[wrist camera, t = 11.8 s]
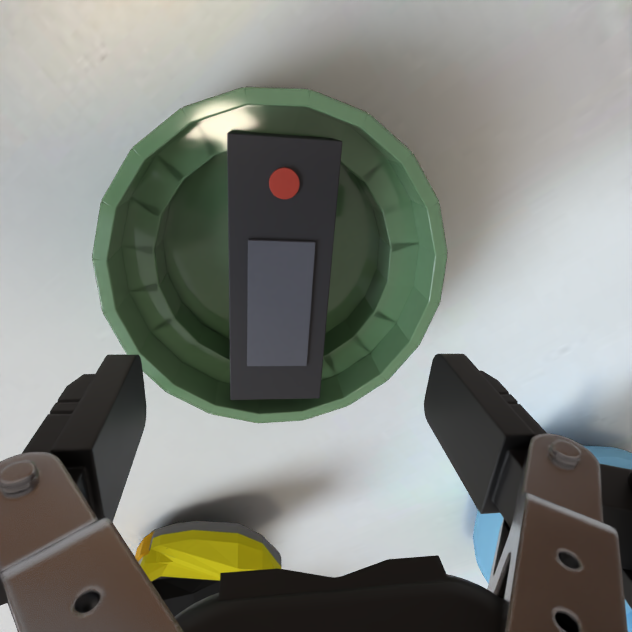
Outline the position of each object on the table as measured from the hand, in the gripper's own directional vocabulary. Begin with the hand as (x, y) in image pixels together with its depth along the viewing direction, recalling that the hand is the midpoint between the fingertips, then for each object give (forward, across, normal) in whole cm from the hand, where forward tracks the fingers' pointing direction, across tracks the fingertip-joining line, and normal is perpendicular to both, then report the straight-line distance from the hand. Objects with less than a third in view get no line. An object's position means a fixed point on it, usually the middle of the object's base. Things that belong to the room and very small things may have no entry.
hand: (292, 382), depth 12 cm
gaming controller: (+13, +4, +25) cm, 29 cm away
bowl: (+13, 0, 0) cm, 13 cm away
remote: (+10, 0, 0) cm, 10 cm away
